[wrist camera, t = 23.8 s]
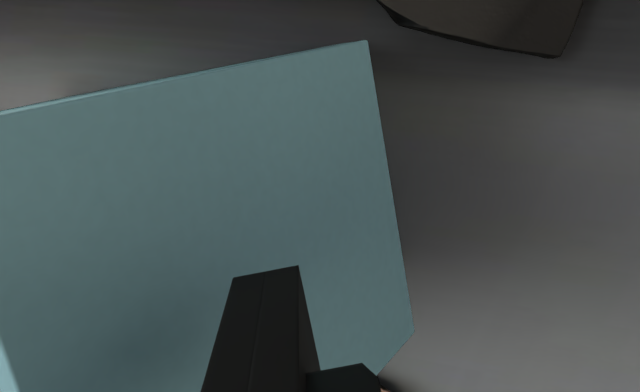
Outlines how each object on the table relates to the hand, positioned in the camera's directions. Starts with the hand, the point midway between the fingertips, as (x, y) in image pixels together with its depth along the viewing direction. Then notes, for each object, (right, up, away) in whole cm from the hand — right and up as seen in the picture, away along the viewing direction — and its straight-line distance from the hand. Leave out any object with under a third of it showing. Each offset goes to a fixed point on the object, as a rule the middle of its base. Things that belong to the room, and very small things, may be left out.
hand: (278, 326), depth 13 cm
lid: (-1, +1, +4) cm, 4 cm away
